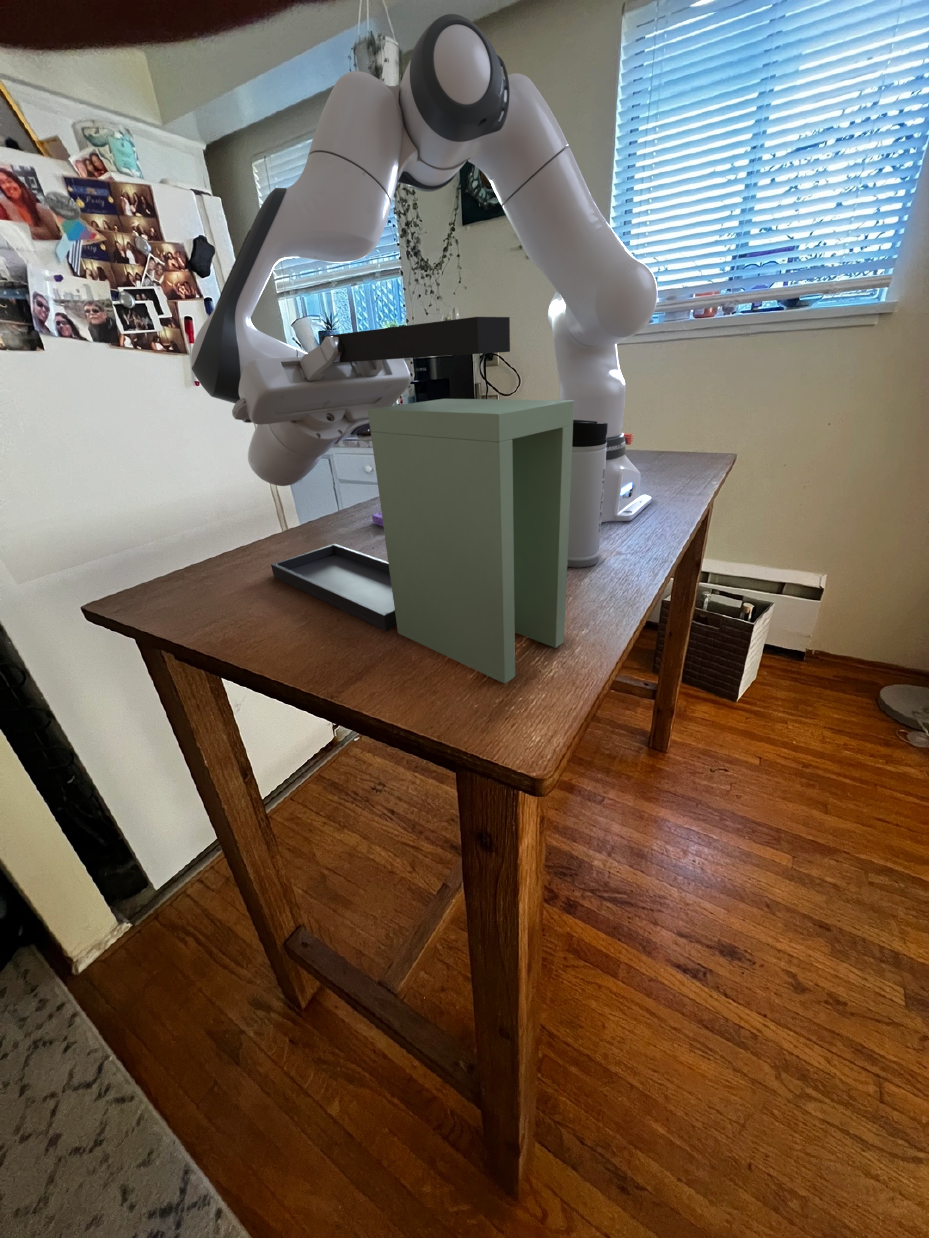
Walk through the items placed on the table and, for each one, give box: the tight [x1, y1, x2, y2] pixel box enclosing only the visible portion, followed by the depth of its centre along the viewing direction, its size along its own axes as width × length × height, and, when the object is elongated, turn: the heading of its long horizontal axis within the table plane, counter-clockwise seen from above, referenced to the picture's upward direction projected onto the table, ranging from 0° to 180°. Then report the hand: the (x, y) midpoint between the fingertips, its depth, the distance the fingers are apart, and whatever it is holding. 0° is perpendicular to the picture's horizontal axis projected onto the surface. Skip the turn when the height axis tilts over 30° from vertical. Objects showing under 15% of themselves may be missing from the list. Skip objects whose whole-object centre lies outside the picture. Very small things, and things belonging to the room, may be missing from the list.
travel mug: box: [567, 420, 608, 569], centre depth 70 cm, size 6×7×20 cm
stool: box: [368, 398, 574, 685], centre depth 50 cm, size 10×16×24 cm, turn 46°
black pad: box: [321, 316, 511, 363], centre depth 47 cm, size 4×22×2 cm, turn 46°
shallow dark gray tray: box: [270, 543, 397, 632], centre depth 70 cm, size 11×27×2 cm, turn 46°
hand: (359, 342), depth 51 cm, fingers closed on black pad, 4 cm apart
